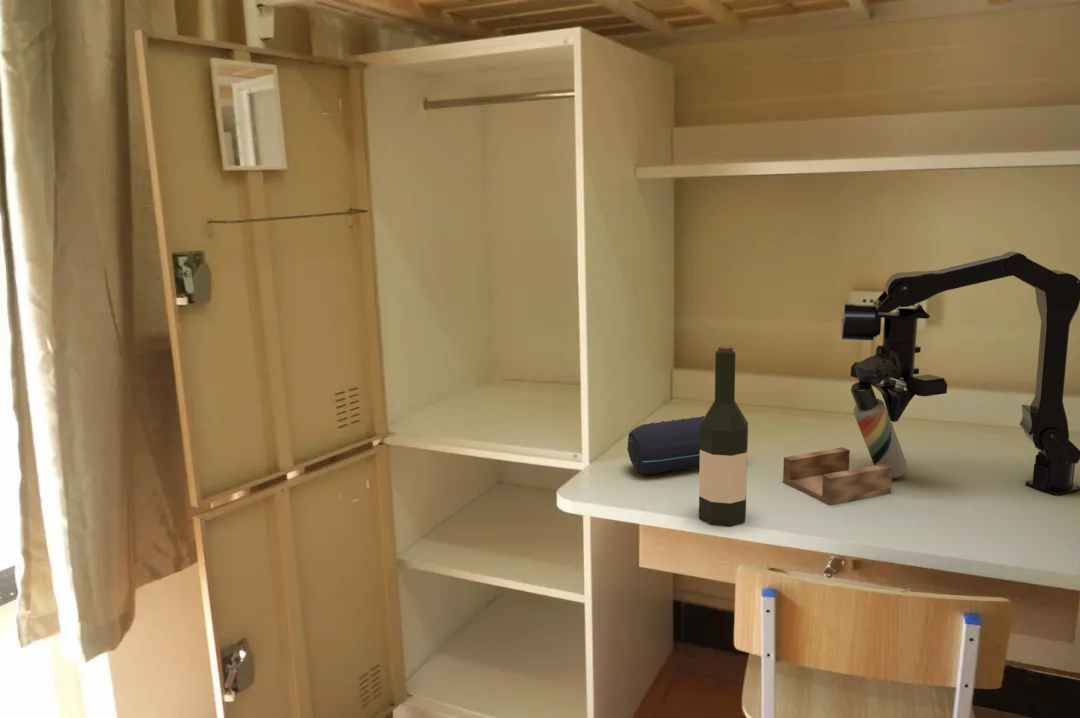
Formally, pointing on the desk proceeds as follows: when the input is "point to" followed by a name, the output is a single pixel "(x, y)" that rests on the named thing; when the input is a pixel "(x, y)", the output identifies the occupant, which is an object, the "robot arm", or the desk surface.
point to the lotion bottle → (877, 429)
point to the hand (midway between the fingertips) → (893, 421)
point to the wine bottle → (723, 450)
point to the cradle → (835, 476)
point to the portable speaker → (665, 445)
